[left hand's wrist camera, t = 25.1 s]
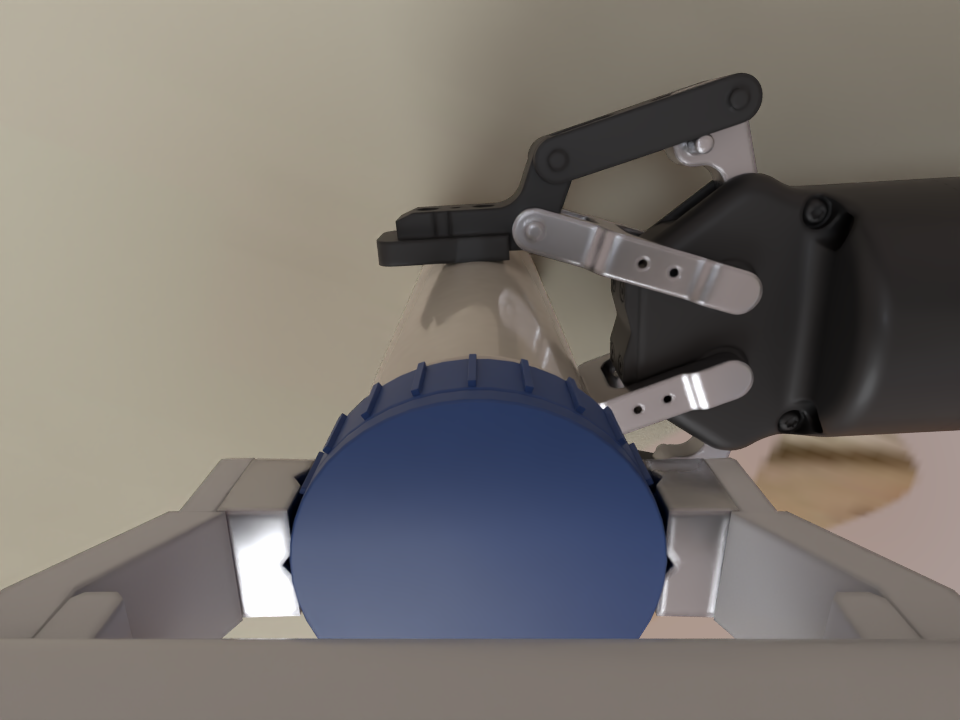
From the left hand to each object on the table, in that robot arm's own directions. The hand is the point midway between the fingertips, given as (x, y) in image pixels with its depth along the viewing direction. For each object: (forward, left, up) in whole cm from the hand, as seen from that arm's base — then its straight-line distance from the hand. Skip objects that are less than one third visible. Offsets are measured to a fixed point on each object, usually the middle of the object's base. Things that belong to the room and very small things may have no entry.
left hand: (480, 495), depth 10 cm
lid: (0, 0, +2) cm, 2 cm away
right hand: (-1, +2, -9) cm, 10 cm away
